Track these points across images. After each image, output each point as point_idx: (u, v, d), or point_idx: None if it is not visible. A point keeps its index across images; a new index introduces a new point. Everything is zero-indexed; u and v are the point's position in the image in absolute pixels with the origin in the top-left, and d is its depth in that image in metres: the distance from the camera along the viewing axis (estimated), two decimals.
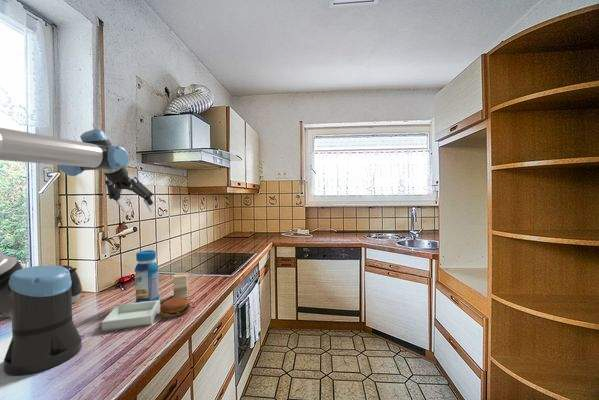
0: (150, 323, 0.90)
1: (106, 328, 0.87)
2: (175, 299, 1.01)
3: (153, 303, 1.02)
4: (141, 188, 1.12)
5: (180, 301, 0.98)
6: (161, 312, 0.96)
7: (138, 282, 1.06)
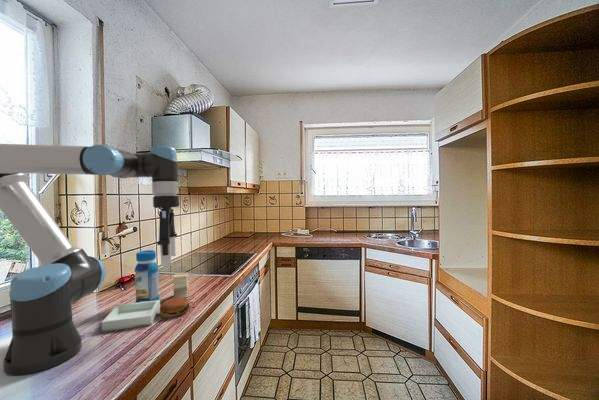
0: (150, 323, 0.90)
1: (106, 328, 0.87)
2: (175, 299, 1.01)
3: (153, 303, 1.02)
4: (161, 226, 0.82)
5: (180, 301, 0.98)
6: (161, 312, 0.96)
7: (138, 282, 1.06)
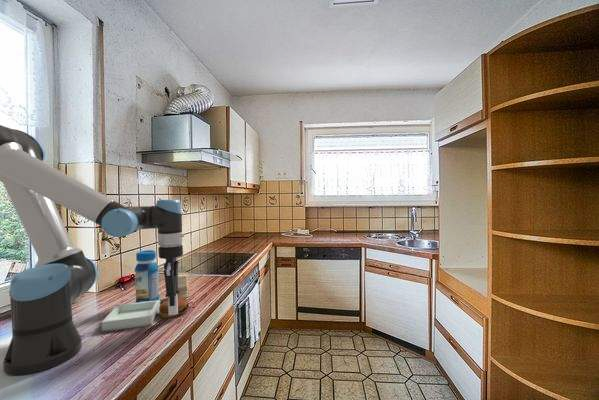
0: (150, 323, 0.90)
1: (106, 328, 0.87)
2: None
3: (153, 303, 1.02)
4: (167, 283, 0.89)
5: (179, 301, 0.98)
6: (160, 312, 0.96)
7: (138, 282, 1.06)
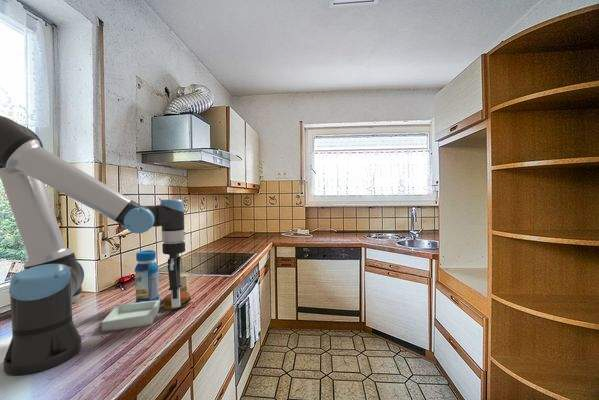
0: (150, 323, 0.90)
1: (106, 328, 0.87)
2: None
3: (153, 303, 1.02)
4: (170, 277, 0.96)
5: (182, 294, 1.05)
6: (164, 304, 1.03)
7: (138, 282, 1.06)
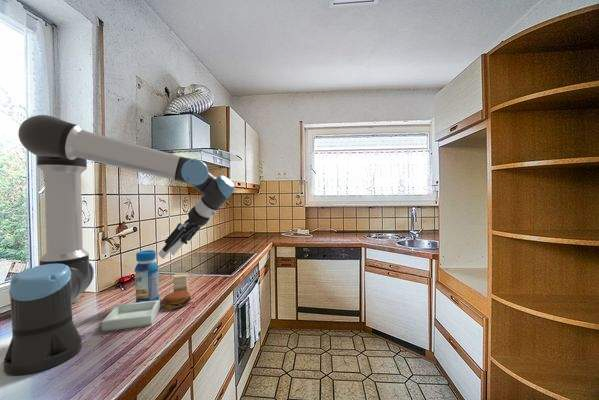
0: (150, 323, 0.90)
1: (106, 328, 0.87)
2: (177, 292, 1.08)
3: (153, 303, 1.02)
4: (172, 233, 0.99)
5: (182, 294, 1.06)
6: (164, 304, 1.03)
7: (138, 282, 1.06)
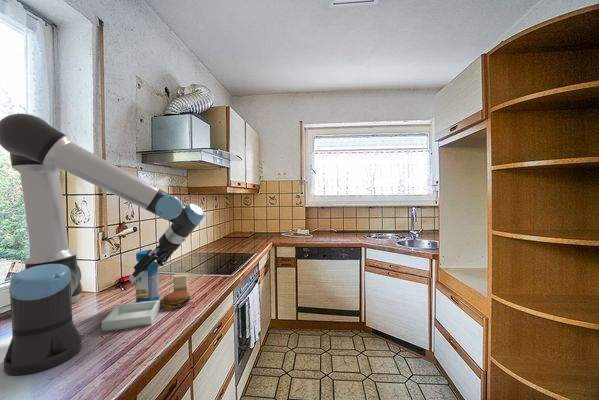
0: (150, 323, 0.90)
1: (106, 328, 0.87)
2: (176, 292, 1.08)
3: (153, 303, 1.02)
4: (142, 259, 1.01)
5: (181, 294, 1.06)
6: (163, 304, 1.03)
7: (138, 282, 1.06)
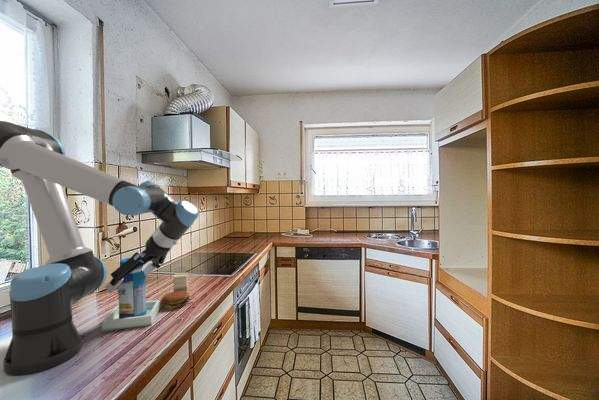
0: (150, 323, 0.90)
1: (106, 328, 0.87)
2: (175, 292, 1.08)
3: (153, 303, 1.02)
4: (124, 264, 0.85)
5: (180, 294, 1.06)
6: (162, 304, 1.03)
7: (121, 295, 0.90)
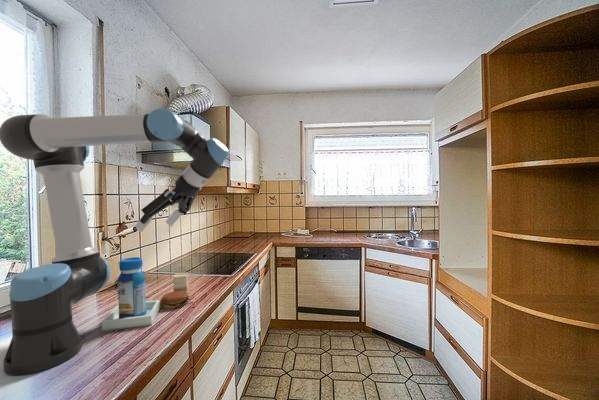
0: (150, 323, 0.90)
1: (106, 328, 0.87)
2: (175, 292, 1.08)
3: (153, 303, 1.02)
4: (155, 200, 0.83)
5: (180, 294, 1.06)
6: (162, 304, 1.04)
7: (121, 295, 0.91)
